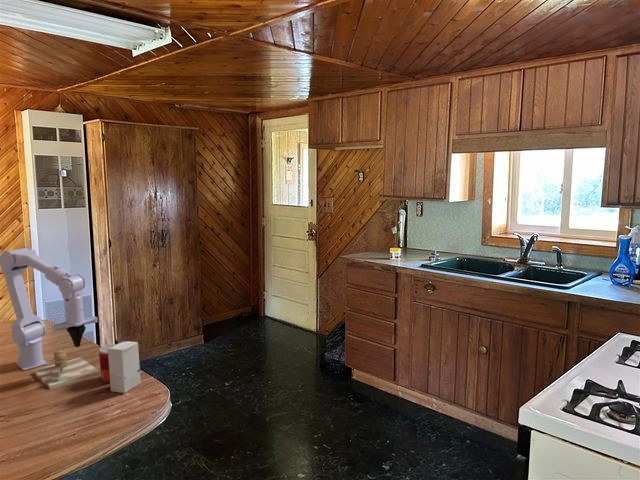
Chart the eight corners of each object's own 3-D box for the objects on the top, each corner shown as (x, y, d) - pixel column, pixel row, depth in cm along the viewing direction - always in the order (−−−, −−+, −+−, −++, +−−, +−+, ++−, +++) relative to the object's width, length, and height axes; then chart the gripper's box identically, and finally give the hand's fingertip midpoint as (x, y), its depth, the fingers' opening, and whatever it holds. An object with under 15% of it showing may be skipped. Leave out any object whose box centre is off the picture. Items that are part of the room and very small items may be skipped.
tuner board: (33, 373, 167) (33, 370, 167) (80, 360, 179) (80, 357, 178) (50, 389, 155) (49, 385, 155) (99, 374, 166) (99, 370, 166)
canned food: (116, 384, 159) (114, 353, 157) (96, 382, 160) (93, 351, 159) (130, 374, 166) (128, 345, 164) (110, 372, 168) (108, 343, 166)
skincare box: (124, 394, 151) (121, 350, 149) (109, 391, 153) (106, 348, 151) (141, 382, 159) (139, 341, 157) (127, 380, 161) (124, 339, 159)
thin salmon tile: (83, 373, 164) (83, 373, 164) (79, 372, 165) (79, 372, 165) (90, 370, 167) (90, 369, 167) (86, 369, 168) (86, 369, 168)
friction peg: (56, 364, 171) (54, 351, 170) (68, 362, 173) (67, 349, 172) (49, 381, 157) (48, 367, 156) (62, 379, 159) (61, 365, 158)
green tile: (49, 382, 157) (49, 382, 157) (50, 378, 160) (50, 378, 160) (66, 379, 159) (66, 379, 159) (67, 376, 162) (67, 375, 162)
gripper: (55, 316, 157) (58, 354, 159) (99, 307, 167) (102, 343, 169) (48, 312, 162) (52, 349, 164) (92, 303, 172) (94, 338, 174)
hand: (77, 346), depth 167 cm, fingers closed
